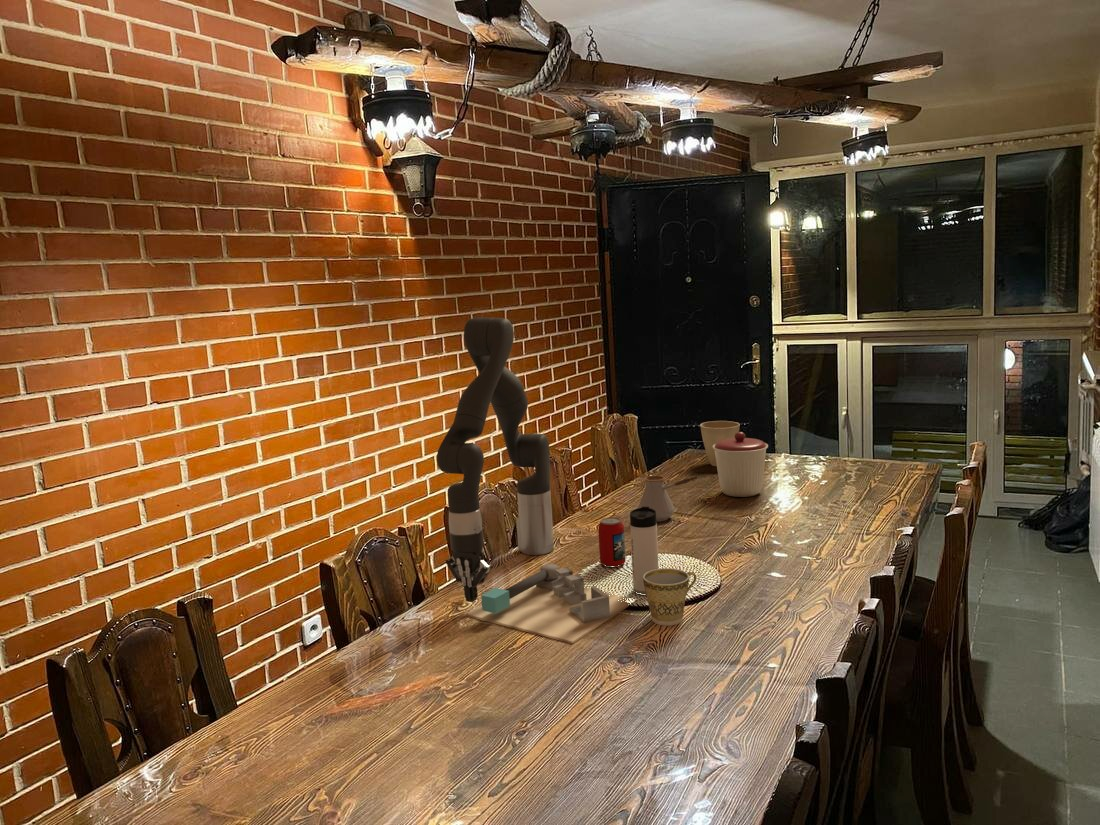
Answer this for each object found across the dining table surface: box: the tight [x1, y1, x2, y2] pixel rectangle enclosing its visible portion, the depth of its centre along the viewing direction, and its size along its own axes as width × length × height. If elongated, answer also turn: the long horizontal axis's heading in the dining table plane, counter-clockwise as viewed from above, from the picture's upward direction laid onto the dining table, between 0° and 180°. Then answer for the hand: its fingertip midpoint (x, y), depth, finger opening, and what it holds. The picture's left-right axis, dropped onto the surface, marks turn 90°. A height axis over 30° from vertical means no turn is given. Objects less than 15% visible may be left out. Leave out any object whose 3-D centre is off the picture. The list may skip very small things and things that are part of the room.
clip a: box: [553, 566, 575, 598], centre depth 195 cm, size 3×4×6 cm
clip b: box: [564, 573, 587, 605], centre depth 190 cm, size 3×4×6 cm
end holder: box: [570, 585, 611, 624], centre depth 182 cm, size 7×7×5 cm
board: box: [465, 576, 633, 645], centre depth 189 cm, size 30×26×2 cm
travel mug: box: [629, 506, 660, 594], centre depth 194 cm, size 6×7×20 cm
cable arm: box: [480, 563, 559, 614], centre depth 193 cm, size 25×4×4 cm, turn 143°
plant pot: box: [699, 420, 741, 467], centre depth 317 cm, size 15×15×16 cm
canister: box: [713, 431, 769, 498], centre depth 274 cm, size 18×18×21 cm
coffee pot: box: [637, 475, 702, 522], centre depth 250 cm, size 21×12×15 cm, turn 53°
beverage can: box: [598, 516, 626, 567], centre depth 214 cm, size 7×7×12 cm
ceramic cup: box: [643, 567, 697, 627], centre depth 179 cm, size 13×10×10 cm
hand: (471, 600), depth 190 cm, fingers closed
